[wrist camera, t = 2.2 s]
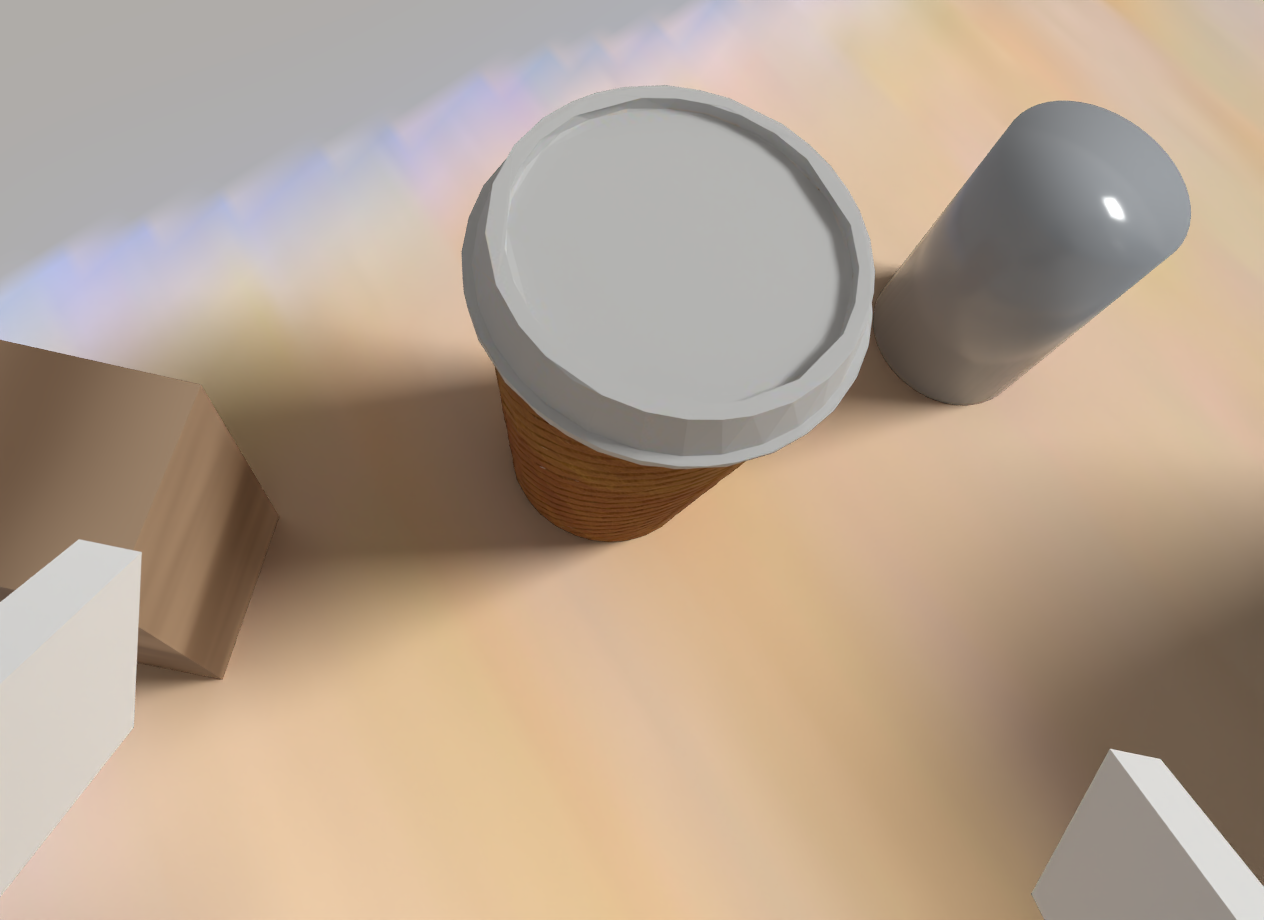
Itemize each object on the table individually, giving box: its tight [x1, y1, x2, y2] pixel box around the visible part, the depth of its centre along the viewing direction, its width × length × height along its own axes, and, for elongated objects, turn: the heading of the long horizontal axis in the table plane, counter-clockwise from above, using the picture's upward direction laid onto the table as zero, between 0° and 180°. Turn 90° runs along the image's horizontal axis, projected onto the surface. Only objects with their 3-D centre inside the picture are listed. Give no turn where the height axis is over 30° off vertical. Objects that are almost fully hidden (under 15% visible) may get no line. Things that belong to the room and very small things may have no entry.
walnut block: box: [0, 340, 279, 679], centre depth 22 cm, size 5×5×9 cm
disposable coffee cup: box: [462, 85, 875, 542], centre depth 25 cm, size 10×10×12 cm
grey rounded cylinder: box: [873, 101, 1191, 405], centre depth 30 cm, size 6×6×9 cm
